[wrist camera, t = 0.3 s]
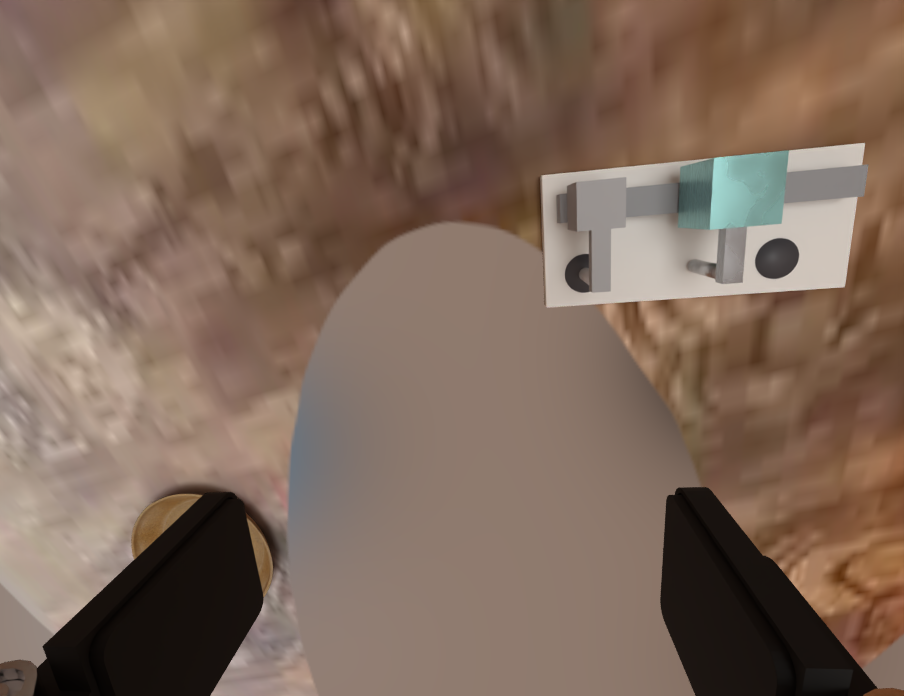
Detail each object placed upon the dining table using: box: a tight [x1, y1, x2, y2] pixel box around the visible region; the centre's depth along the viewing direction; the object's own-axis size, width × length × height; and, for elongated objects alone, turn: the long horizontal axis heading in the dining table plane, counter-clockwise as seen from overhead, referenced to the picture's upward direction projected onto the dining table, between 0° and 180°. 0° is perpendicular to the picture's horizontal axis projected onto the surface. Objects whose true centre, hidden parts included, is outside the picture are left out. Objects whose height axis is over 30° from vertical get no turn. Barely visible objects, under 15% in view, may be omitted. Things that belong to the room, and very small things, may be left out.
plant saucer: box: [131, 494, 273, 597], centre depth 47 cm, size 15×15×3 cm
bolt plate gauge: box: [540, 143, 868, 308], centre depth 32 cm, size 10×22×8 cm, turn 95°
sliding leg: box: [678, 150, 789, 284], centre depth 30 cm, size 8×4×7 cm, turn 5°
